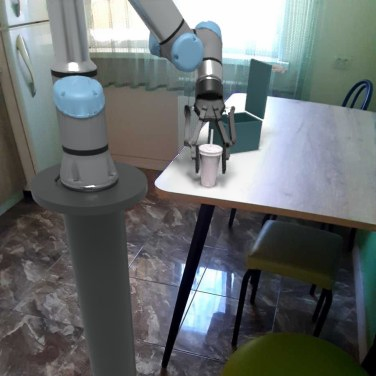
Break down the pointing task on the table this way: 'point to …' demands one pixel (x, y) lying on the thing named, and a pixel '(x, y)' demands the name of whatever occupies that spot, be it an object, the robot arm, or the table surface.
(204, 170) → the smoothie
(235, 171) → the table surface
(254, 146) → the teal open box
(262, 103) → the lid
